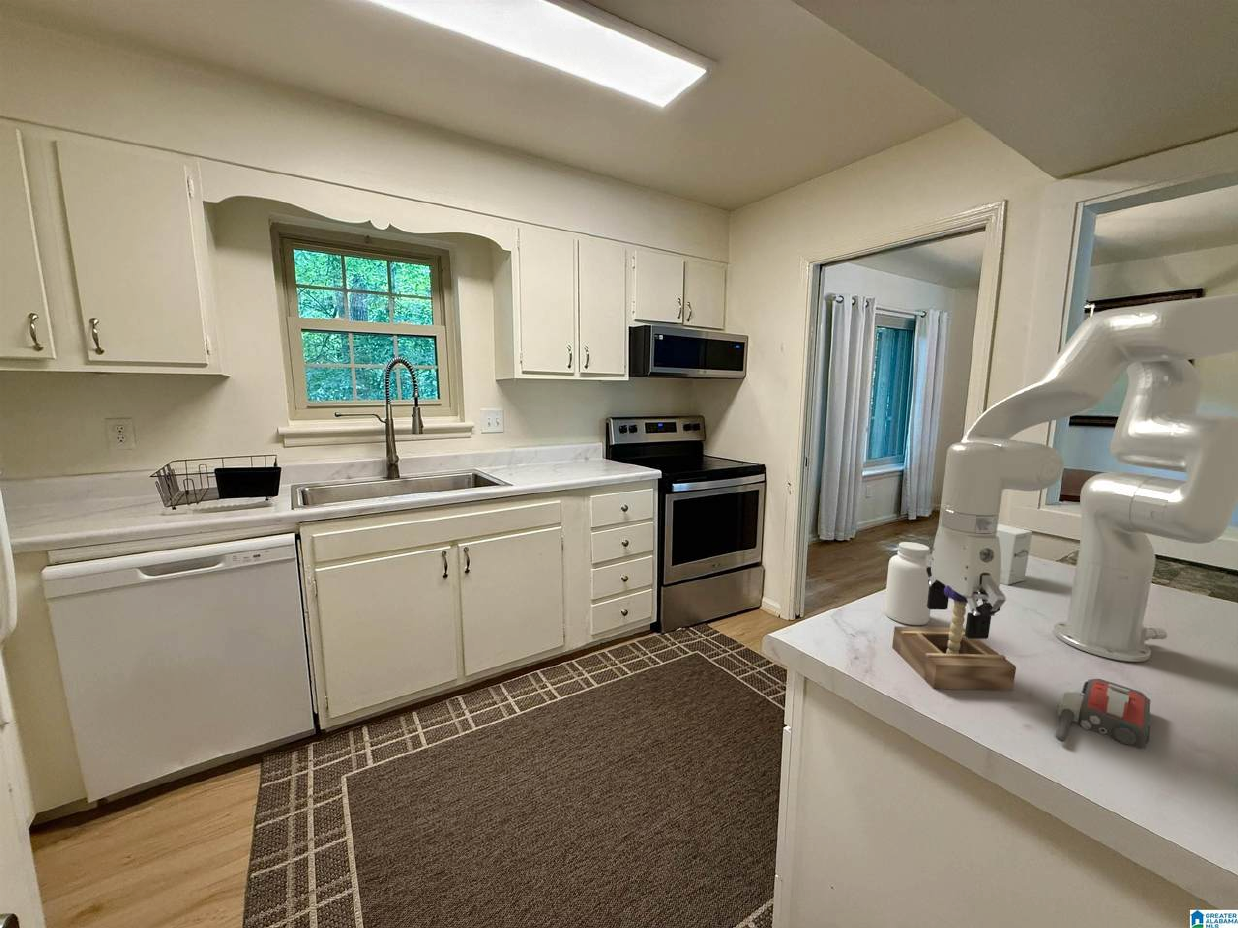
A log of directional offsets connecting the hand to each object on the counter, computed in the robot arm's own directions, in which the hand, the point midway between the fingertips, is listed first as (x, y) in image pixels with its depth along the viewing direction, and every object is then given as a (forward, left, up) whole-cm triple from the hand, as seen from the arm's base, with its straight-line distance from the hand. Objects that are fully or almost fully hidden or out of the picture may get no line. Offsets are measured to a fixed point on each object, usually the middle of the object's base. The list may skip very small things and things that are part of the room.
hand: (955, 622), depth 80 cm
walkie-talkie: (-12, +13, -9) cm, 20 cm away
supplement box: (-38, -40, -8) cm, 56 cm away
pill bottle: (-3, -18, -8) cm, 20 cm away
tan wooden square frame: (0, 0, -8) cm, 8 cm away
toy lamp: (0, 0, -8) cm, 8 cm away
